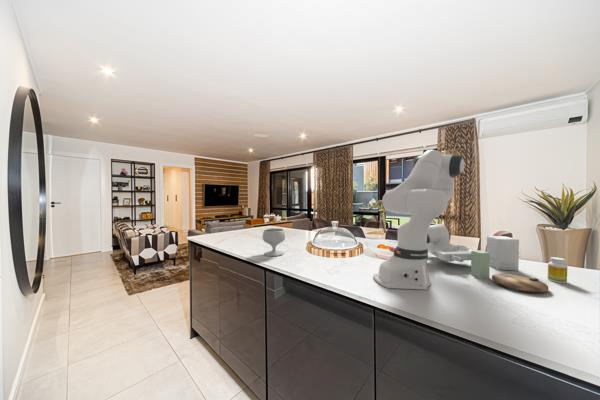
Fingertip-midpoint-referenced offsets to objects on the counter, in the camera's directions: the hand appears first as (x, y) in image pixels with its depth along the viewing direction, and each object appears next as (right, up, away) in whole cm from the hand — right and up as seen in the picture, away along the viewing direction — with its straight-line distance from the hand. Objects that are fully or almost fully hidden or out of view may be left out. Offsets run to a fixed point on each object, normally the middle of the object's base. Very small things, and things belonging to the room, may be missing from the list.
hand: (471, 260), depth 104 cm
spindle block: (+1, -6, -4) cm, 7 cm away
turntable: (+7, -5, -15) cm, 17 cm away
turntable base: (+7, -6, -15) cm, 18 cm away
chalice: (-96, -6, +35) cm, 102 cm away
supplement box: (+21, -6, +7) cm, 23 cm away
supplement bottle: (+28, -6, -10) cm, 30 cm away
